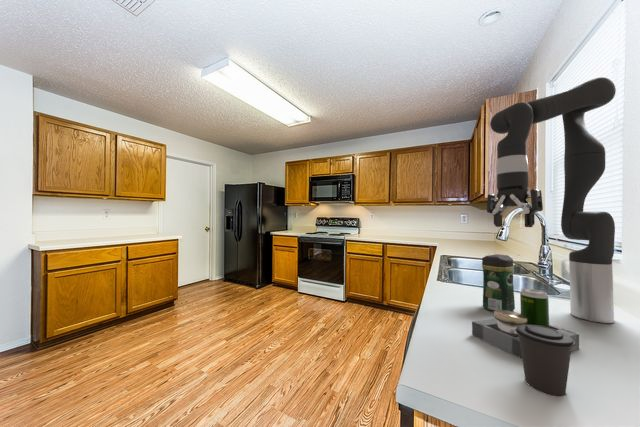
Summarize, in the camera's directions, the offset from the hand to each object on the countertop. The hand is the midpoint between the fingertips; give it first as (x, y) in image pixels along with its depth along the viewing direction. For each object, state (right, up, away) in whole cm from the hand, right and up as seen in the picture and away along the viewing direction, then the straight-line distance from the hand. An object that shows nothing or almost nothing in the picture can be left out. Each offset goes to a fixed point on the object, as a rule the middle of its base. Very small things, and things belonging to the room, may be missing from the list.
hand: (512, 226), depth 74 cm
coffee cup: (-17, -27, -30) cm, 44 cm away
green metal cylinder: (-3, -28, -12) cm, 30 cm away
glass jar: (-11, -27, -14) cm, 33 cm away
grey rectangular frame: (-7, -28, -13) cm, 31 cm away
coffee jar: (+3, -29, +11) cm, 31 cm away
